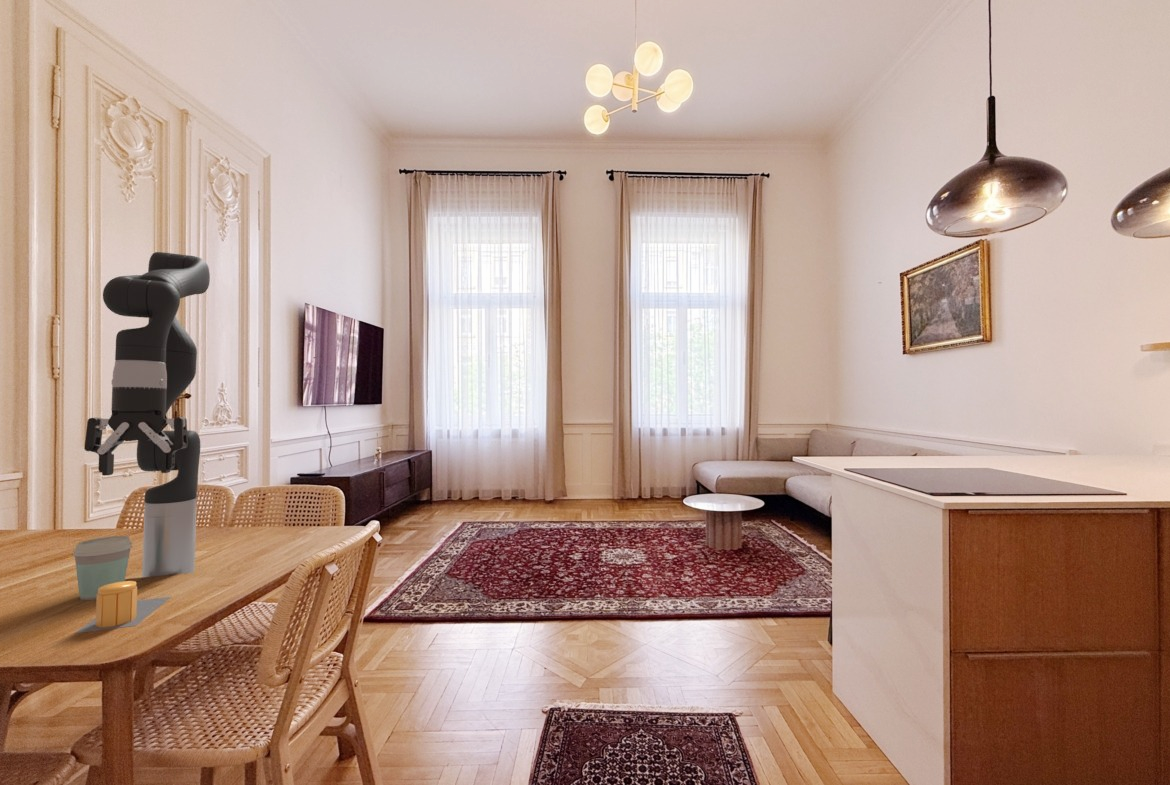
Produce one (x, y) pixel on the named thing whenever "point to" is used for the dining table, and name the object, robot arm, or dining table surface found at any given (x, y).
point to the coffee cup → (100, 563)
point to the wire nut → (116, 604)
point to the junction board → (142, 612)
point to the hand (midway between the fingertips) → (137, 473)
